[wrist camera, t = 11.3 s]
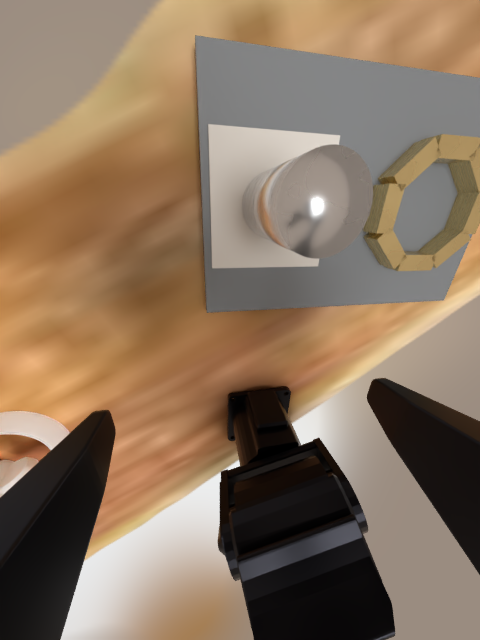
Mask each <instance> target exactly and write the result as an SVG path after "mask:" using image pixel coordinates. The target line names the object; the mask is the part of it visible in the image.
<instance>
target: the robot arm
mask: <svg viewBox="0 0 480 640" xmlns="http://www.w3.org/2000/svg"><path fill="white" fill-rule="evenodd" d="M290 395H291V391H290V390H289V388H288V387H283V388H274V389H265V390H256V391H247V392H238V393H231V394H229V396H228V439H229V440H230V441H234V440H236V445H237V451H238V456H239V462H240V467H237V468H234V469H231V470H224V471H222V472H221V482H220V526H219V534H218V548H219V550H220V552H222V553H223V554H224V555H225V556H226V559H227V562H228V565H229V569H230V572H231V575H232V577H233V579H234V580H235V581H237V580H239V579H241V583H242V588H243V592H244V597H245V601H246V606H247V610H248V614H249V618H250V623H251V628H252V631H253V636H254V640H386V639H389V638H391V637H394V636H395V626H394V617H393V609H392V603H391V600H390V598H389V596H388V594H387V592H386V590H385V587H384V585H383V583H382V579H381V577H380V575H379V572H378V570H377V567H376V565H375V562H374V560H373V558H372V555H371V553H370V550H369V548H368V545H367V543H366V540H365V538H364V536H363V534H364V533H366V532H368V525H367V522H366V518H365V516H364V513H363V510H362V508H361V505H360V503H359V501H358V499H357V497H356V494H355V493H354V490H353V488H352V487H351V485H350V483H349V481H348V480H347V478H346V477H345V475H344V473H343V472H342V471H341V469H340V467H339V466H338V465H337V463H336V462H335V460H334V459H333V457H332V456H331V454H330V453H329V451H328V450H327V449H326V447H325V446H324V444H323V443H322V441H321V440H320V438H317V439H314V440H313V441H312V442H309V443H306V444H303V445H301V444H300V442H299V439H298V437H297V435H296V433H295V430H294V428H293V426H292V424H291V421H290V419H289V417H288V415H287V414H288V408H289V401H290ZM232 398H234V399H232ZM367 400H368V403H369V405H370V406H371V408H372V410H373V412H374V414H375V416H376V417H377V419H378V421H379V423H380V425H381V426H382V428H383V430H384V432H385V434H386V435H387V437H388V439H389V440H390V442H391V444H392V445H393V447H394V448H395V449H396V451H397V453H398V454H399V456H400V457H401V459H402V460H403V462H404V463H405V465H406V466H407V468H408V469H409V470H410V472H411V473H412V475H413V476H414V478H415V479H416V481H417V482H418V484H419V485H420V487H421V488H422V490H423V491H424V493H425V494H426V496H427V497H428V499H429V500H430V502H431V503H432V505H433V506H434V508H435V509H436V511H437V512H438V514H439V515H440V516H441V518H442V520H443V521H444V522H445V524H446V525H447V527H448V528H449V530H450V531H451V533H452V534H453V536H454V537H455V539H456V540H457V542H458V543H459V545H460V546H461V548H462V549H463V551H464V552H465V554H466V555H467V557H468V558H469V560H470V561H471V562H472V564H473V565H474V567H475V568H476V570H477V571H478V573H479V574H480V421H478V420H476V419H473V418H471V417H469V416H467V415H464V414H462V413H460V412H458V411H456V410H454V409H451V408H449V407H447V406H445V405H443V404H440V403H438V402H436V401H434V400H432V399H430V398H427V397H425V396H423V395H421V394H419V393H417V392H414V391H412V390H410V389H408V388H406V387H404V386H401V385H399V384H397V383H395V382H393V381H390V380H388V379H386V378H378V379H374V380H373V381H372V382H371V385H370V388H369V391H368V394H367ZM114 440H115V426H114V423H113V419H112V416H111V413H110V411H109V410H100V411H94V412H93V413H91V414H90V415H89V416H88V417H87V418H86V419H85V420H84V421H83V422H81V423H80V424H79V425H78V426H77V427H76V428H75V429H74V430H73V431H72V432H71V433H70V434H68V435H67V436H66V437H65V438H64V439H63V440H62V441H61V442H60V443H59V444H58V445H56V446H55V447H54V448H53V449H52V450H51V451H50V452H49V453H48V454H47V455H46V456H45V457H43V458H42V459H41V460H40V461H39V462H38V463H37V464H36V465H35V466H34V467H33V468H32V469H30V470H29V471H28V472H27V473H26V474H25V475H24V476H23V477H22V478H21V479H20V480H19V481H17V482H16V483H15V484H14V485H13V486H12V487H11V488H10V489H9V490H8V491H7V492H5V493H4V494H3V495H2V496H1V497H0V640H60V639H61V636H62V632H63V629H64V626H65V622H66V619H67V615H68V612H69V609H70V606H71V602H72V599H73V595H74V592H75V589H76V585H77V582H78V579H79V575H80V572H81V568H82V565H83V562H84V559H85V555H86V552H87V549H88V545H89V542H90V539H91V535H92V532H93V529H94V525H95V522H96V519H97V515H98V512H99V509H100V505H101V502H102V498H103V495H104V491H105V487H106V482H107V477H108V471H109V466H110V461H111V456H112V450H113V445H114Z"/></svg>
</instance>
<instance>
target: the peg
mask: <svg viewBox="0 0 480 640" xmlns="http://www.w3.org/2000/svg"><path fill="white" fill-rule="evenodd" d="M372 201H373V184H372V178H371V174H370V171H369V169H368V167H367V165H366V163H365V161H364V160H363V159H362V158H361V156H360V155H359V154H357V153H356V152H355V151H354V150H352V149H350V148H348V147H345V146H343V145H337V144H329V145H324V146H320V147H317V148H315V149H313V150H310V151H308V152H306V153H304V154H302V155H299V156H297V157H295V158H293V159H291V160H288V161H286V162H284V163H282V164H280V165H277V166H275V167H273V168H271V169H269V170H266V171H264V172H262V173H260V174H259V175H257V176H256V177H255V178H254V179H252V181H251V182H250V183H249V185H248V186H247V188H246V190H245V193H244V196H243V201H242V211H243V216H244V219H245V222H246V224H247V225H248V227H249V228H250V229H251V230H252V231H253V232H254V233H255V234H257V235H259V236H261V237H263V238H265V239H267V240H269V241H271V242H274V243H276V244H278V245H280V246H282V247H284V248H286V249H289V250H291V251H293V252H295V253H297V254H299V255H302V256H304V257H307V258H313V259H320V258H326V257H330V256H333V255H335V254H337V253H339V252H341V251H342V250H344V249H345V248H346V247H348V246H349V245H350V244H351V243H352V242H353V241H354V240H355V239H356V238H357V236H358V235H359V234H360V232H361V231H362V229H363V227H364V225H365V224H366V221H367V219H368V217H369V214H370V210H371V206H372Z"/></svg>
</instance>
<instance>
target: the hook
mask: <svg viewBox="0 0 480 640" xmlns="http://www.w3.org/2000/svg"><path fill="white" fill-rule="evenodd" d="M3 434H16V435H23V436H27V437H31V438H34V439H36V440H38V441H40V442H42V443H44V444H45V445H46V446H47V447H48V448H49V449H50V450H52V449H53V448H54V447H55V446H56V445H58V444H59V443H60V442H61V441H62V440H63V439H64V438H65V437H66V436H67V435H68V434H70V432H69V431H68V429H67V428H66V427H65V426H64V425H63V424H61V423H60V422H58V421H57V420H55V419H53V418H50V417H48V416H45V415H42V414H39V413H34V412H28V411H7V412H2V413H0V435H3ZM38 462H39V461H38V460H37V459H35V458H31V457H24V458H22V459H19V460H17V461H15V462H14V461H11V460H1V461H0V497H1V496H2V495H3V494H4V493H5V492H7V491H8V490H9V489H10V488H11V487H12V486H13V485H14V484H15V483H16V482H17V481H19V480H20V479H21V478H22V477H23V476H24V475H25V474H26V473H27V472H28V471H29V470H30V469H32V468H33V467H34V466H35V465H36V464H37V463H38Z"/></svg>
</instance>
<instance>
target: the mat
mask: <svg viewBox="0 0 480 640" xmlns="http://www.w3.org/2000/svg"><path fill="white" fill-rule="evenodd" d="M208 140H209V176H210V212H211V247H212V268H260V267H310V266H318V264H319V259H313V258H307V257H304V256H302V255H299V254H297V253H295V252H293V251H291V250H289V249H286V248H284V247H282V246H280V245H278V244H276V243H274V242H271V241H269V240H267V239H265V238H263V237H261V236H259V235H257V234H255V233H254V232H253V231H252V230H251V229H250V228H249V227H248V225H247V224H246V222H245V219H244V216H243V211H242V201H243V196H244V193H245V190H246V188H247V186H248V185H249V183H250V182H251V181H252V179H254V178H255V177H256V176H257V175H259V174H260V173H262V172H264V171H266V170H269V169H271V168H273V167H275V166H277V165H280V164H282V163H284V162H286V161H288V160H291V159H293V158H295V157H297V156H299V155H302V154H304V153H306V152H308V151H310V150H313V149H315V148H317V147H320V146H324V145H329V144H337V145H339V140H340V135H329V134H318V133H306V132H295V131H283V130H271V129H260V128H248V127H236V126H225V125H213V124H208Z"/></svg>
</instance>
